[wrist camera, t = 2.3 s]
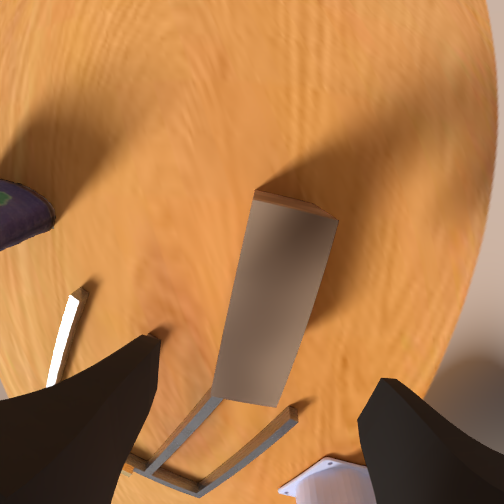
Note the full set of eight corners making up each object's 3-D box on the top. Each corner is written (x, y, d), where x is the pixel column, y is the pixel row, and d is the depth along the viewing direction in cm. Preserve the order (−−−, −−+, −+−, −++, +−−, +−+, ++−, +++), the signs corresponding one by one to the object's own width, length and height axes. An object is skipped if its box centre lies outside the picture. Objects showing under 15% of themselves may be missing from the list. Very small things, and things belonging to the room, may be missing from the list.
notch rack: (296, 409, 22) (299, 431, 19) (200, 488, 26) (198, 505, 23) (80, 287, 19) (62, 300, 17) (47, 406, 23) (37, 420, 21)
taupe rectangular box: (313, 203, 18) (339, 220, 12) (272, 347, 20) (276, 407, 14) (255, 189, 18) (253, 199, 12) (222, 337, 20) (210, 395, 14)
